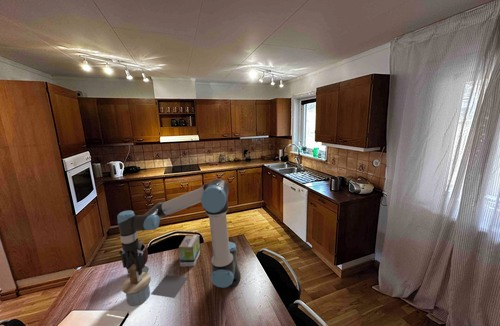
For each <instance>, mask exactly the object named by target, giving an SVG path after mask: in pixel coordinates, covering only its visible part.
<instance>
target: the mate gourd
mask: <svg viewBox="0 0 500 326" xmlns="http://www.w3.org/2000/svg"><path fill="white" fill-rule="evenodd" d="M144 239H145V238H144V237H142V239H141V240H140V241H138V242H139V245H138V248H139V250H140V251H144V263H145V267H144V268H143V269H142V272H146V273H149V271H150V270H149V269H150V268H149V267H148V266H147V265H146V264H147V262H148V260H149V251H148V248H147V245H146V244H145V243H144ZM133 264H135V263H134V260H133V259H132V265H133ZM127 278H129V274H128V273H127Z"/></svg>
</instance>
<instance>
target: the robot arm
mask: <svg viewBox="0 0 500 326" xmlns="http://www.w3.org/2000/svg"><path fill="white" fill-rule="evenodd" d="M229 194H230V187H229V183H227V181H225V180H224V179H221V178H216V179H214V180H213V179H212V180H211V181H209V182H206V183H204V184H203V185H202V186H201V187H199V188H197V189H194V190H192V191H188V192H186V193H184V194H182V195H178V196H177V197H174V198H172V199H169V200H167V201H163V202H158V203H156V204H154V206H152V207H151V208H150V209H149V210H148V211H147V212H145V213H144V214H138V215H137V214H135V212H134V211H133V210H124V211H121V212H120V213H118V214H117V216H116V217H117V226H118V229H119V237H120V242H121V248H122V249H121V250H120V251H118V253H119V255H120V258H121V263H122V268H124V269H126V270H127V275H128V274H129V271H128V269H129V268H130V267H131V266H132V259H133V260H134V263H135V266H136V269H137V270H136V276H137V281H140V280H141V279H142V269H143V268H144V267H145V266H146V264H145V263H144V251H140V250H139V248H138V245H139V242H140V241H139V238H138V236H139V235H138V231H154V230H157V229H158V228H159V226H160V223H161V219H162V218H163V217H166V216H169V215H171V214H174V213H176V212H179V211H182V210H185V209H186V208H190V207H192V206H194V205H196V204H199V203H201V206H202V208H204V213H205V214H206V215H207V216H208V219H209V220H208V221H209V227H210V236H211V237H210V238H211V244H212V253H213V256H212V257H211V261H210V262H211V263H210V264H211V273H210V282H211V283H212V284H213V286H216V287H217V288H223V289H231V288H234V287H235V286H236V287H237V285H238V284H240V281H241V280H242V276H241V275H242V273H241V271H240V269H239V266H238V257H237V256H238V254H237V253H238V252H237V244H236V243H235V242H232V241H229V238H230V237H229V232H228V231H229V230H228V220H227V212H228V211H229V208H230V207H229V200H228V199H229V197H228V196H229ZM129 278H130V277H129Z"/></svg>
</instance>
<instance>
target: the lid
mask: <svg viewBox="0 0 500 326" xmlns="http://www.w3.org/2000/svg"><path fill="white" fill-rule="evenodd" d="M136 270H137V269H136V266H135V264H133V265H132V266H131V267H130V268H129V269H128V271H129V277H130V278H128V277H127V278H126V279H125V280H124V281H123V282H122V284H121V291H122V292H123V293H124V294H126V293H128V294H130V293H135V292H138V291H140V290H142V289H144V288H145V287H146V286H147V285H148V284H149V285H150V283H151V281H152V277H151V274H150V273H149V272H147V273H146V272H142V279H141V280H140V281H137V276H136ZM128 271H127V272H128Z"/></svg>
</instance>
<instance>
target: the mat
mask: <svg viewBox="0 0 500 326" xmlns="http://www.w3.org/2000/svg"><path fill="white" fill-rule="evenodd" d="M188 279H189V278H188V277H185V276H178V275H177V276H176V275H170V274H169V275H168V274H166V275H165V276H164V277H163V279H162V280H161V281H160V282H159V283H158V285H157V286H156V287H155V288H154V289H153V291H151V292H150V295H154V296H160V297H166V298H172V299H175V298H176V297H177V295H178V294H179V292H180V291H181V289H182V287H183V286H184V284H185V283H186V282H187V280H188Z"/></svg>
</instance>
